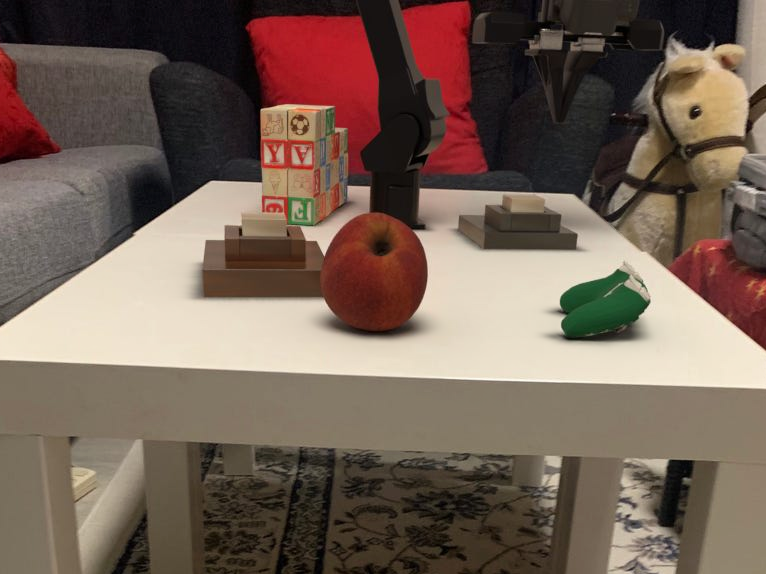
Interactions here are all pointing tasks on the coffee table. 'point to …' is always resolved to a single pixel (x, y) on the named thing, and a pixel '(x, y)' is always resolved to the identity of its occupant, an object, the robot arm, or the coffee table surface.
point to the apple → (374, 273)
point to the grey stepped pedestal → (517, 230)
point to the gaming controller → (604, 303)
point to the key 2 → (523, 203)
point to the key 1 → (263, 224)
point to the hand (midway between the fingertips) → (558, 123)
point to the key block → (262, 265)
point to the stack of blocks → (303, 162)
